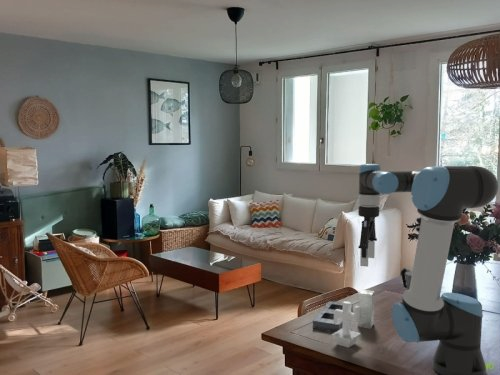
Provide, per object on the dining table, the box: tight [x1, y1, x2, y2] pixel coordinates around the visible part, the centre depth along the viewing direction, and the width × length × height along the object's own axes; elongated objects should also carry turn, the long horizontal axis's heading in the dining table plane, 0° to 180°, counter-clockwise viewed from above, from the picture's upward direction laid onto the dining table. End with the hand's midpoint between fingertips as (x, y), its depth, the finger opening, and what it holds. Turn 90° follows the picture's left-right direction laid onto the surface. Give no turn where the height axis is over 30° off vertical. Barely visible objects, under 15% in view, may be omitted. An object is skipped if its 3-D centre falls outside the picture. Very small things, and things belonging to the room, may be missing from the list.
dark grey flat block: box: [312, 300, 354, 333], centre depth 195 cm, size 24×10×3 cm, turn 157°
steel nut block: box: [357, 289, 375, 329], centre depth 188 cm, size 5×5×13 cm
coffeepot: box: [400, 267, 413, 290], centre depth 207 cm, size 15×9×18 cm, turn 26°
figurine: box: [331, 301, 361, 349], centre depth 171 cm, size 7×9×15 cm
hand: (367, 261), depth 186 cm, fingers open, 13 cm apart
